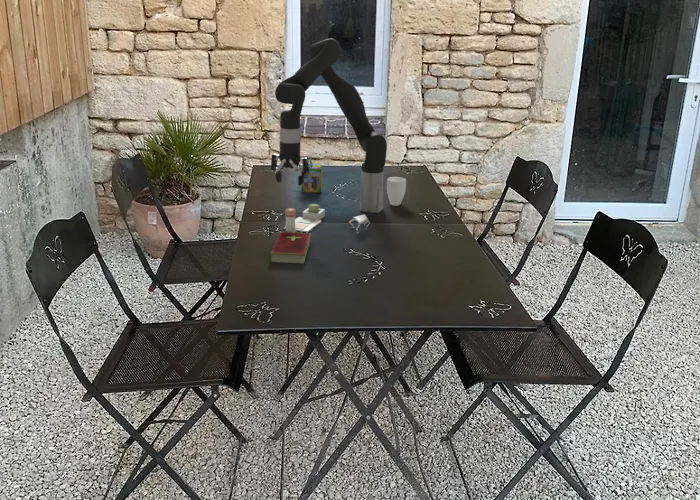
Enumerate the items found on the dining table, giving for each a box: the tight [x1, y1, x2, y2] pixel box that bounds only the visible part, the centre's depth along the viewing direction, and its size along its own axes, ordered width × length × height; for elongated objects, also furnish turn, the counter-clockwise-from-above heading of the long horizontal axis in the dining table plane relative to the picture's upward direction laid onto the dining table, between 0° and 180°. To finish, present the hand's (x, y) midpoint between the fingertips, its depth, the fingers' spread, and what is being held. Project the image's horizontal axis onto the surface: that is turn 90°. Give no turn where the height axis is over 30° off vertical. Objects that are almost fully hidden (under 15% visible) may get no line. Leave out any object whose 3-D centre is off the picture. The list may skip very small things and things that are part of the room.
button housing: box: [302, 207, 326, 221], centre depth 274 cm, size 7×7×3 cm
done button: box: [308, 203, 320, 213], centre depth 273 cm, size 4×4×3 cm
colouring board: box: [283, 216, 322, 233], centre depth 265 cm, size 10×14×1 cm
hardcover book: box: [269, 231, 312, 264], centre depth 238 cm, size 12×21×4 cm, turn 177°
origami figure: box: [348, 214, 371, 235], centre depth 261 cm, size 12×8×5 cm
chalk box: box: [301, 157, 323, 194], centre depth 308 cm, size 9×9×15 cm
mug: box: [386, 176, 407, 207], centre depth 295 cm, size 12×8×11 cm
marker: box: [284, 207, 297, 233], centre depth 252 cm, size 4×4×10 cm
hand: (289, 183), depth 247 cm, fingers open, 8 cm apart
